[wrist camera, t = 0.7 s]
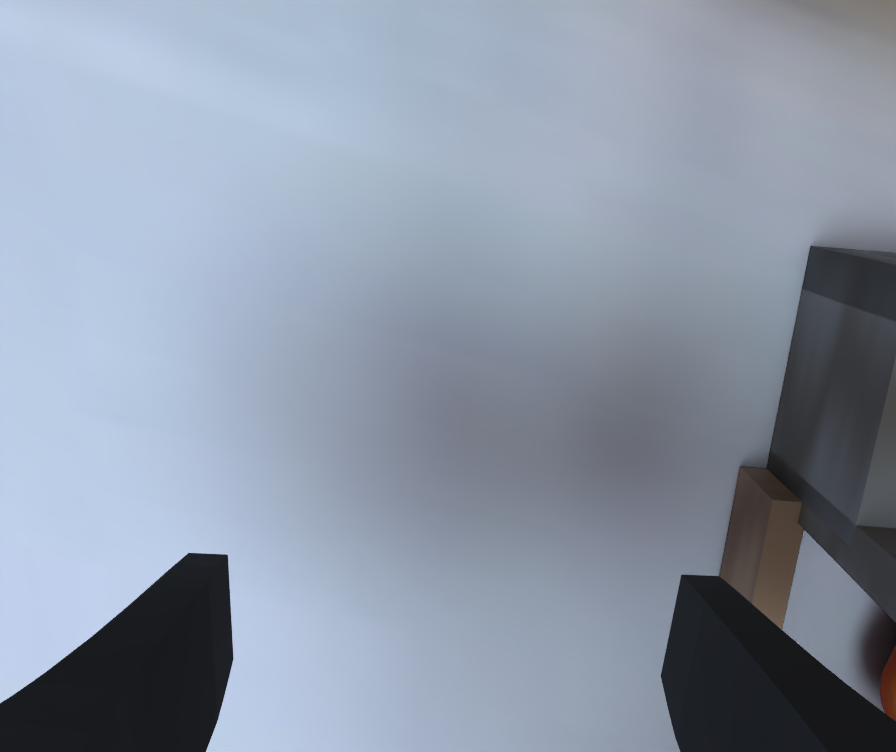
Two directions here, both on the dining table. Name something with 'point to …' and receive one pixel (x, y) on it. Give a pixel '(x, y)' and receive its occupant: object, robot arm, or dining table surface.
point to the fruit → (889, 686)
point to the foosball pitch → (827, 441)
